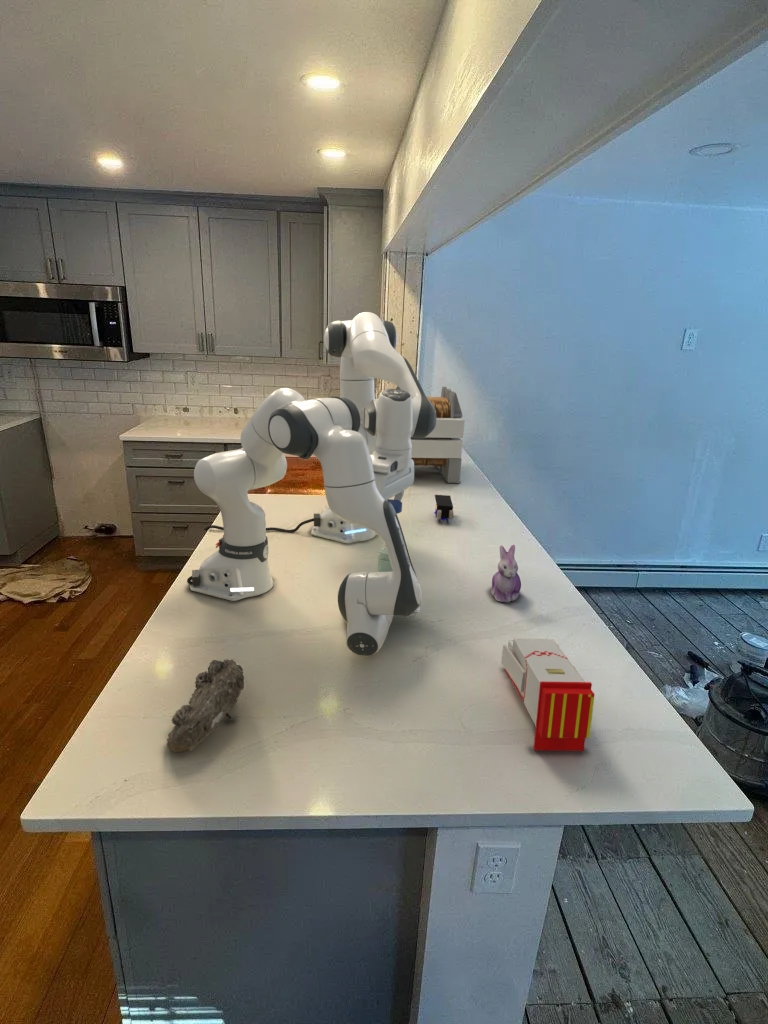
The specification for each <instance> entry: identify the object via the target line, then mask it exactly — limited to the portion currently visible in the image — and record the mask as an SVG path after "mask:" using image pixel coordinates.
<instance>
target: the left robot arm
mask: <svg viewBox="0 0 768 1024" xmlns="http://www.w3.org/2000/svg"><path fill="white" fill-rule="evenodd" d="M359 428H360V414H359V411H358V409H357V407H356V405H355V404H354V403H353V402H352V401H351V400H349V399H347V398H343V397H340V396H328V397H317V398H310V399H307V400H306V399H305V398H304V396H303V395H302V394H301V393H299V391H297V390H295V389H293V388H289V387H281V388H277V389H275V390H274V391H273V392H271V393H270V394H269V395H268V396H267V397H266V398H265V399H264V400H262V402H261V403H260V404H259V406H257V408H256V410H255V411H254V412H253V413H252V415H251V417H250V418H249V420H248V421H247V423H246V424H245V426H244V427H243V429H242V431H241V432H240V446H241V448H237V449H232V450H227V451H220V452H215V453H213V454H210V455H207V456H205V457H203V458H201V459H199V460H198V461H197V462H196V464H195V466H194V470H193V479H194V483H195V485H196V487H197V489H198V490H199V491H200V492H201V493H202V494H203V495H205V496H207V497H208V498H210V499H211V500H212V501H214V503H215V504H216V505H217V507H218V509H219V512H220V514H221V519H222V527H223V528H224V530H223V535H222V537H221V538H220V539H218V542H216V543H215V548H216V549H217V548H218V550H216V551H215V552H213V553H212V554H211V555H210V556H208V557H207V558H205V559H204V560H203V562H201V564H200V566H199V569H192V570H191V575H190V576H188V578H187V579H186V583H187V584H188V585H189V589H190V591H193V592H195V593H196V592H197V593H200V594H204V595H208V596H212V597H216V598H220V599H223V600H228V601H231V602H237V601H240V600H243V599H245V598H246V599H247V598H251V597H257V596H260V595H263V594H265V593H267V592H269V591H270V590H271V589H272V588H273V586H274V580H273V578H272V574H271V571H270V565H269V559H268V558H269V541H268V540H269V539H268V536H267V531H266V528H267V526H266V525H267V523H266V522H267V521H266V520H267V519H266V512H265V510H264V509H263V507H262V506H261V505H259V504H257V503H255V502H253V501H250V499H249V495H248V493H249V491H253V490H258V489H261V488H265V487H268V486H271V485H273V484H275V483H277V482H279V481H281V480H282V479H284V478H285V476H286V475H287V470H288V462H287V461H288V460H287V458H286V456H285V455H291V456H296V457H298V458H300V459H303V460H309V459H310V458H311V457H312V456H314V457H316V458H317V460H318V461H319V463H320V465H321V470H322V479H323V486H324V493H325V499H326V502H327V505H328V508H330V509H331V511H332V512H333V513H334V514H335V515H336V516H337V517H339V518H340V519H342V520H344V521H346V522H348V523H351V524H354V525H357V526H361V527H364V528H367V529H369V530H371V531H373V532H375V533H376V535H378V536H379V537H380V538H381V539H382V541H383V543H384V546H385V548H386V549H387V553H388V556H389V559H390V563H391V566H392V569H393V571H391V572H377V571H362V572H360V571H359V572H358V571H357V572H349V573H348V574H346V576H345V577H344V578H343V580H342V581H341V583H340V585H339V587H338V591H337V605H338V610H339V613H340V615H341V617H342V619H343V620H344V621H345V622H346V623H347V627H346V628H347V629H346V635H345V642H346V643H345V644H346V646H347V648H348V650H349V651H351V652H352V653H353V654H354V655H356V656H360V657H370V656H374V655H375V654H377V653H378V652H379V650H381V648H382V647H383V645H384V643H385V642H386V638H387V636H388V633H389V630H390V629H389V628H390V627H391V625H392V621H393V618H394V616H396V617H398V616H399V617H407V618H408V617H409V618H410V617H415V616H418V615H419V614H420V611H421V606H422V595H423V594H422V587H421V584H420V581H419V578H418V576H417V573H416V571H415V568H414V565H413V562H412V559H411V555H410V552H409V549H408V546H407V542H406V538H405V535H404V533H403V532H404V531H403V528H402V526H401V522H400V520H399V517H398V514H396V511H395V509H394V507H393V505H392V504H391V503H390V502H387V501H385V500H384V499H383V497H382V496H381V495H380V493H379V491H378V489H377V486H376V483H375V476H374V469H373V464H372V460H371V455H370V452H369V448H368V445H367V442H366V440H365V438H364V436H363V435H362V434H360V433H359V432H358V431H359Z"/></svg>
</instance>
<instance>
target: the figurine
mask: <svg viewBox="0 0 768 1024" xmlns="http://www.w3.org/2000/svg"><path fill="white" fill-rule="evenodd" d="M515 552H516V545H515V544H512V545H510V547H509V549H508V551H507V550H506V548H505V547H504V546H503V545H500V546H499V562H498V564H497V570H498V571H497V572H495V573H494V574H493V576H492V579H491V588H490V593H491V596H492V597H493V598H494V600H496V601H497V602H501V603H510V602H511V601H512V602H514V601H516V600H517V599H518V598H519V596H520V592H521V590H522V581H521V578H520V575H519V574H518V571H519V565H518V563H517V560H516V559H515Z"/></svg>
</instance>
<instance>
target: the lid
mask: <svg viewBox="0 0 768 1024" xmlns="http://www.w3.org/2000/svg"><path fill="white" fill-rule="evenodd" d="M388 502H390V503H391V504H392V505H393V507H394V509H395V511H396V514H397V515H398V514H401V513H402V511H403V502H402V501H401V502H400V501H398V500H394V498H393V499H391V498H389V499H388Z"/></svg>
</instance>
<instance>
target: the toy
mask: <svg viewBox="0 0 768 1024" xmlns="http://www.w3.org/2000/svg"><path fill="white" fill-rule="evenodd" d="M500 661H501V662H500V663H501V664H502V666H503V668H504V671H505V673H506V674H507V676H508V678H509V679H510V681H511V684H512V685H513V686H514V688H515V691H517V693H518V695H519V696H520V699H521V700H522V702H523V704H524V706H525V708H526V711H527V712H528V714H529V716H530V718H531V720H532V723H533V724H534V726H535V731H534V741H533V750H534V751H554V752H555V751H556V752H557V751H558V752H564V751H565V752H584V751H585V743H586V739H590V737H591V736H590V735H591V727H592V718H593V710H594V702H595V692H593V690H592V685H593V684H592V682H590V681H585V679H584V678H583V676H582V675H581V674H580V673H579V672H578V670H577V669H576V668H575V666H574V665H573V663H572V662H571V661H570V659H569V658H568V657H567V655H566V654H565V653H564V651H563V650H562V649H561V648H560V646H559V644H558V643H557V642H556V640H554V638H517V637H515V638H512V639H508V643H507V644H503V647H502V653H501V660H500Z"/></svg>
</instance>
